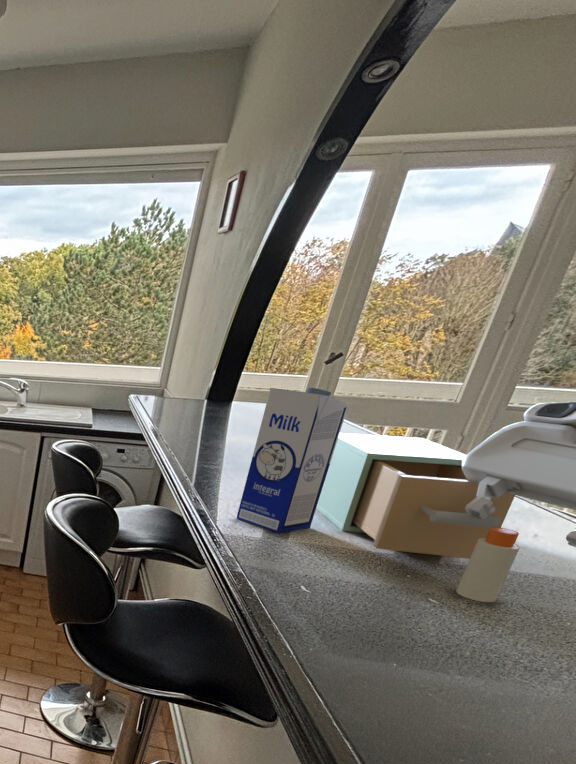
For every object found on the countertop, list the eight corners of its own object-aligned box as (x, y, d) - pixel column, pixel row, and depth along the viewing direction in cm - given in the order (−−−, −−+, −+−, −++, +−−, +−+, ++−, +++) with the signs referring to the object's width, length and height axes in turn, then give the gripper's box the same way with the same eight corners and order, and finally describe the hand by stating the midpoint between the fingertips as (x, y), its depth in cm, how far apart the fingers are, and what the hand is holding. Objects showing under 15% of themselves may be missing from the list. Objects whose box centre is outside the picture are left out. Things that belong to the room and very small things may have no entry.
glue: (484, 592, 68) (514, 527, 65) (502, 604, 65) (533, 537, 62) (449, 587, 69) (477, 523, 66) (465, 599, 66) (494, 533, 63)
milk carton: (234, 518, 91) (269, 385, 84) (265, 513, 93) (301, 384, 86) (279, 533, 85) (321, 392, 77) (311, 528, 87) (354, 390, 80)
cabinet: (449, 542, 82) (483, 461, 78) (341, 530, 86) (367, 453, 82) (397, 508, 96) (423, 438, 91) (306, 500, 100) (326, 432, 95)
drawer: (507, 574, 70) (543, 495, 67) (391, 560, 74) (419, 485, 70) (427, 523, 87) (452, 458, 83) (334, 514, 90) (355, 451, 87)
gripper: (801, 485, 54) (659, 587, 56) (531, 438, 72) (434, 516, 75) (794, 438, 51) (646, 546, 53) (517, 401, 70) (417, 483, 72)
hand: (520, 528), depth 64 cm, fingers open, 8 cm apart
